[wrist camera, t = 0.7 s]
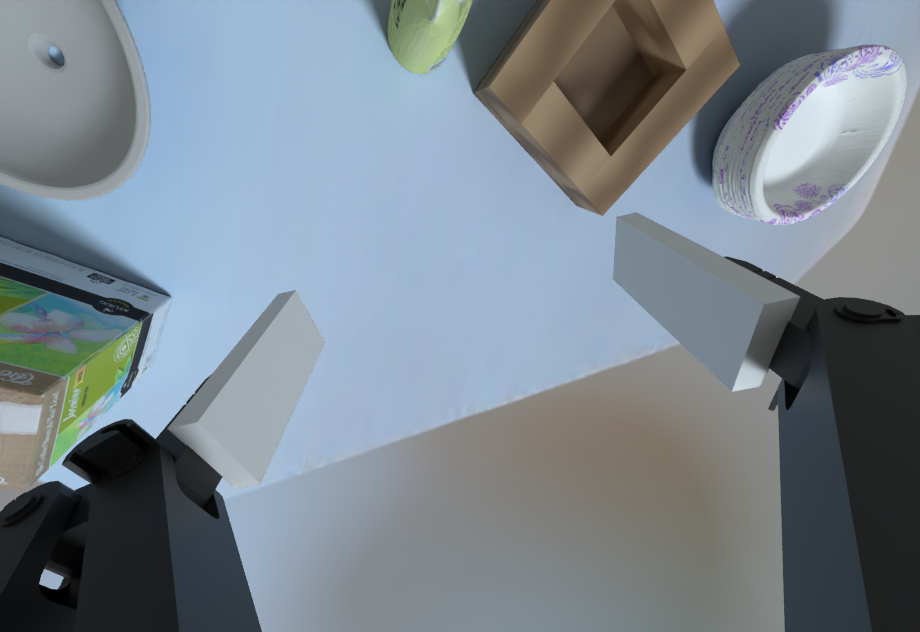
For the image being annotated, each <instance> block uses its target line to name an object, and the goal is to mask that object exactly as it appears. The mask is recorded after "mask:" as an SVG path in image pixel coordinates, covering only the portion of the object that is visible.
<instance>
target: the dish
mask: <svg viewBox="0 0 920 632" xmlns="http://www.w3.org/2000/svg"><path fill="white" fill-rule="evenodd" d="M52 46H57V47H58V48H59V49H60V51H61V52H62V54H63V56H64V60H65V63H64V65H63V66H60V65H58V64H57V63H55V62H54V61H53V60H52V58H51V57H50V55H49V49H50V47H52ZM150 124H151V110H150V99H149V91H148V86H147V81H146V76H145V72H144V69H143V65H142V61H141V58H140V55H139V52H138V50H137V47H136V44H135V41H134V39H133V36H132V34H131V32H130V29H129V27H128V24H127V22H126V20H125V18H124V16H123V14H122V12H121V10H120V8H119V6H118V4H117V2H116V0H0V184H3V185H5V186H8V187H10V188H13V189H16V190H19V191H22V192H25V193H28V194H32V195H36V196H40V197H46V198H51V199H60V200H84V199H92V198H96V197H100V196H103V195H105V194H108V193H110V192H112V191H114V190H116V189H117V188H119V187H120V186H122V185H123V184H124V183H125V182H127V181H128V180H129V179H130V177H131V176H132V175H133V174H134V173H135V172H136V170H137V169H138V167H139V166H140V164H141V161H142V159H143V157H144V155H145V152H146V149H147V146H148V140H149V135H150Z"/></svg>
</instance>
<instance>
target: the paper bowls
mask: <svg viewBox="0 0 920 632" xmlns="http://www.w3.org/2000/svg"><path fill="white" fill-rule="evenodd" d="M906 82H907V77H906V70H905V65H904V62H903V61H902V58H901V57H900V56H899V55H898V53H897V52H895V51H894V50H893V49H891V48H888V47H886V46H881V45H861V46H856V47H850V48H846V49H836V50H830V51H825V52H819V53H813V54H809V55H806V56H803V57H800V58H797V59H795V60H792V61H790V62H788V63H786V64H785V65H783V66H781V67H780V68H779V69H777V70H776V71H774V72H773V73H772V74H771V75H769V76H768V77H767V78H766V79H765V80H764V81H762V82H761V83H760V84H759V85H758V86H757V87H756V89H755V90H754V91H753V92H752V93H751V94H750V95H749V96H748V97H747V99H746V100H745V101H744V102H743V103H742V104H741V106H740V107H739V108H738V109H737V110H736V112H735V113H734V114H733V115H732V116H731V118H730V119H729V120H728V122H727V123H726V125H725V127H724V128H723V130H722V132H721V134H720V136H719V138H718V141H717V143H716V147H715V150H714V154H713V161H712V168H713V174H712V175H713V179H712V182H713V191H714V195H715V198H716V201H717V202H718V203H719V205H720V206H721V207H722V208H723V209H725V210H726V211H728V212H730V213H732V214H736V215H738V216H742V217H745V218H750V219H754V220H757V221H761V222H764V223H769V224H773V225H787V224H792V223H796V222H800V221H802V220H805V219H807V218H809V217H812V216H814V215H816V214H818V213H819V212H821V211H822V210H824V209H825V208H827V207H828V206H830V205H831V204H833V203H834V202H835V201H836V200H838V199H839V198H840V197H841V196H842V195H844V194H845V193H846V192H847V191H848V190H849V189H850V188H851V187H852V186H853V185H854V184H855V183H856V182H857V181H858V180H859V179H860V178H861V177H862V175H863V174H864V173H865V172H866V171H867V169H868V168H869V167H870V166H871V164H872V163H873V162H874V160H875V159H876V157H877V156H878V155H879V153H880V151H881V150H882V148H883V147H884V145H885V144H886V142H887V140H888V138H889V137H890V135H891V133H892V131H893V129H894V127H895V124H896V122H897V120H898V117H899V115H900V112H901V109H902V106H903V102H904V98H905V93H906Z"/></svg>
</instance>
